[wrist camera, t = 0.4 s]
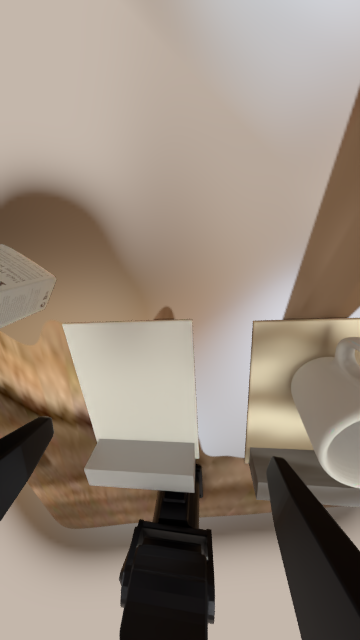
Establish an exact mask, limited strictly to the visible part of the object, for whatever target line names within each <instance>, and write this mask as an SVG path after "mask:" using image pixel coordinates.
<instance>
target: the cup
mask: <svg viewBox="0 0 360 640" xmlns="http://www.w3.org/2000/svg"><path fill="white" fill-rule="evenodd" d="M355 349H356V350H358V351H359V352H360V337H348V338H344V339H342V340H341V341H339V343H338V345H337V347H336V351H335V357H321V358H317V359H314V360H311V361H309V362H307V363H306V364H304V365H303V366H302V367H300V368H299V369H298V370H297V372H296V373H295V375H294V377H293V379H292V382H291V393H292V397H293V400H294V403H295V405H296V408H297V410H298V413H299V415H300V417H301V420H302V422H303V425H304V427H305V429H306V432H307V434H308V437H309V439H310V442H311V444H312V446H313V449H314V451H315V454H316V456H317V458H318V461H319V463H320V465H321V466H322V468H323V469H324V470H325V471H326V472H327V474H329V475H330V476H331V477H332V478H334V479H335V480H337V481H339V482H340V483H343V484H345V485H348V486H351V487H355V488H360V366H359V365H358V364H357V362H356V359H355Z"/></svg>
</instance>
